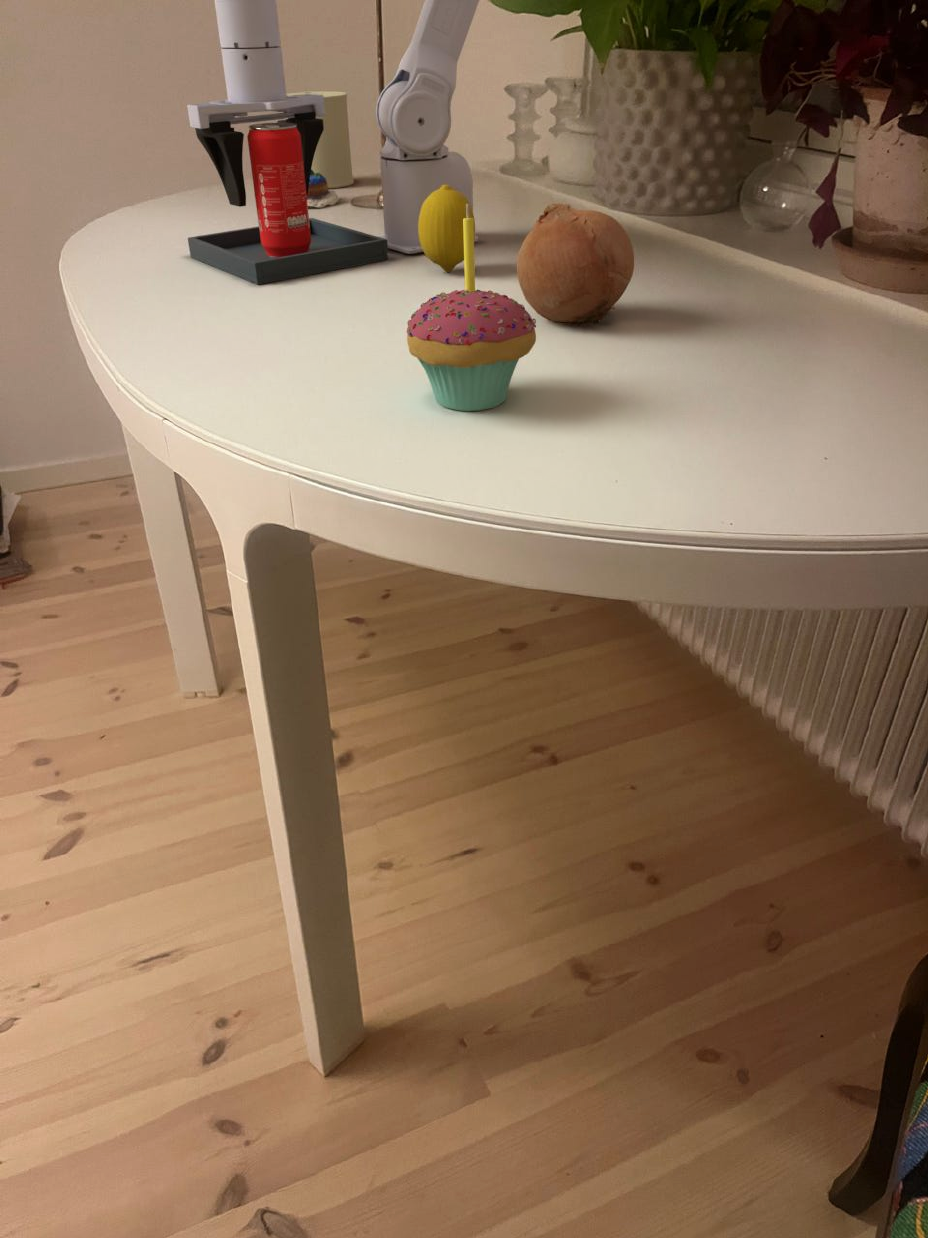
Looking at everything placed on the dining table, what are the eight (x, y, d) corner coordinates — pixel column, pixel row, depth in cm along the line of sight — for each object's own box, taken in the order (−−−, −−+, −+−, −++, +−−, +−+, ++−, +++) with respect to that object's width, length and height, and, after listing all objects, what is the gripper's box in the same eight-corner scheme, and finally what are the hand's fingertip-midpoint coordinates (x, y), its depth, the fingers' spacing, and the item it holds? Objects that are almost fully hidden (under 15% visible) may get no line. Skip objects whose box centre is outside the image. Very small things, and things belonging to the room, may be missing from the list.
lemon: (469, 279, 91) (468, 189, 86) (414, 278, 92) (410, 188, 87) (480, 265, 95) (479, 179, 91) (427, 264, 96) (424, 178, 92)
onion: (528, 351, 82) (483, 237, 79) (620, 307, 84) (580, 194, 81) (569, 341, 73) (520, 212, 70) (671, 293, 75) (628, 165, 72)
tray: (313, 236, 108) (312, 217, 107) (388, 259, 98) (387, 239, 97) (190, 257, 101) (187, 237, 100) (257, 284, 91) (254, 263, 90)
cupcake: (408, 380, 68) (398, 199, 61) (525, 374, 68) (529, 195, 61) (412, 426, 60) (402, 227, 54) (544, 419, 61) (550, 221, 54)
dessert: (290, 190, 129) (309, 152, 126) (331, 220, 131) (351, 183, 127) (270, 206, 123) (289, 166, 120) (312, 237, 125) (333, 199, 121)
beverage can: (271, 261, 96) (254, 129, 90) (256, 251, 100) (239, 124, 94) (319, 254, 98) (306, 125, 92) (302, 245, 102) (289, 120, 96)
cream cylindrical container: (282, 188, 135) (271, 93, 129) (301, 178, 143) (292, 87, 136) (344, 189, 134) (336, 92, 127) (360, 178, 141) (354, 87, 135)
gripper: (205, 52, 84) (229, 214, 92) (337, 44, 92) (348, 194, 100) (167, 50, 89) (192, 205, 96) (295, 43, 97) (310, 187, 104)
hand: (269, 199), depth 98 cm, fingers open, 7 cm apart
